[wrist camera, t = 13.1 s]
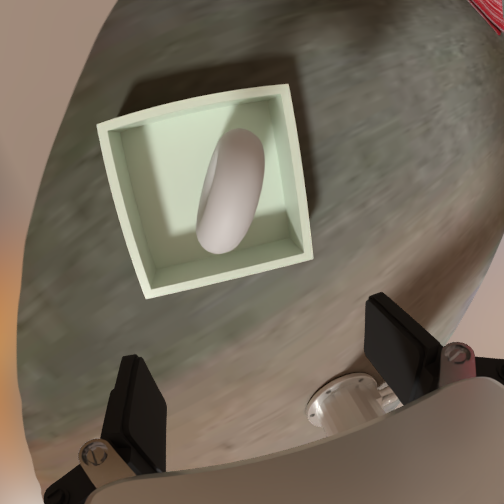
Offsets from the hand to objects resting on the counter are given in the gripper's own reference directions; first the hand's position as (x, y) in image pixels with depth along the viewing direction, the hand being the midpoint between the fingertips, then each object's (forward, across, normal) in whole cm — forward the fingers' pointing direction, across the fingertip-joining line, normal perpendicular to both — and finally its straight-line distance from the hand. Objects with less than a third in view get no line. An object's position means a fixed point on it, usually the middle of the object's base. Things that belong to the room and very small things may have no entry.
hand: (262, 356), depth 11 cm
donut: (+19, -1, -4) cm, 20 cm away
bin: (+20, 0, -4) cm, 20 cm away
